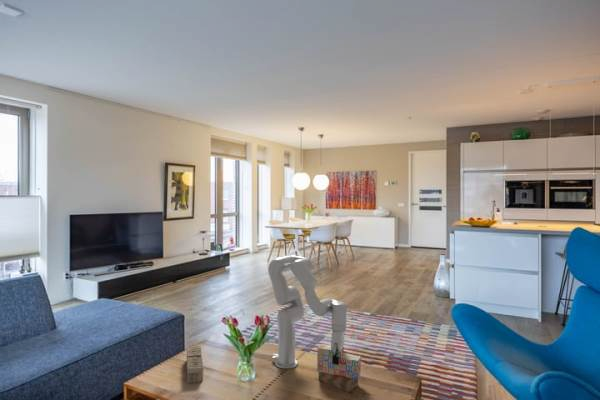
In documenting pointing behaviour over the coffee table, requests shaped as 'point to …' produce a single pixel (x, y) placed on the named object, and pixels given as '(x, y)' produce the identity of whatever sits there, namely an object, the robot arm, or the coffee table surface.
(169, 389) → the coffee table surface
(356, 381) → the walnut block
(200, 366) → the block tower
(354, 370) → the stack of blocks
